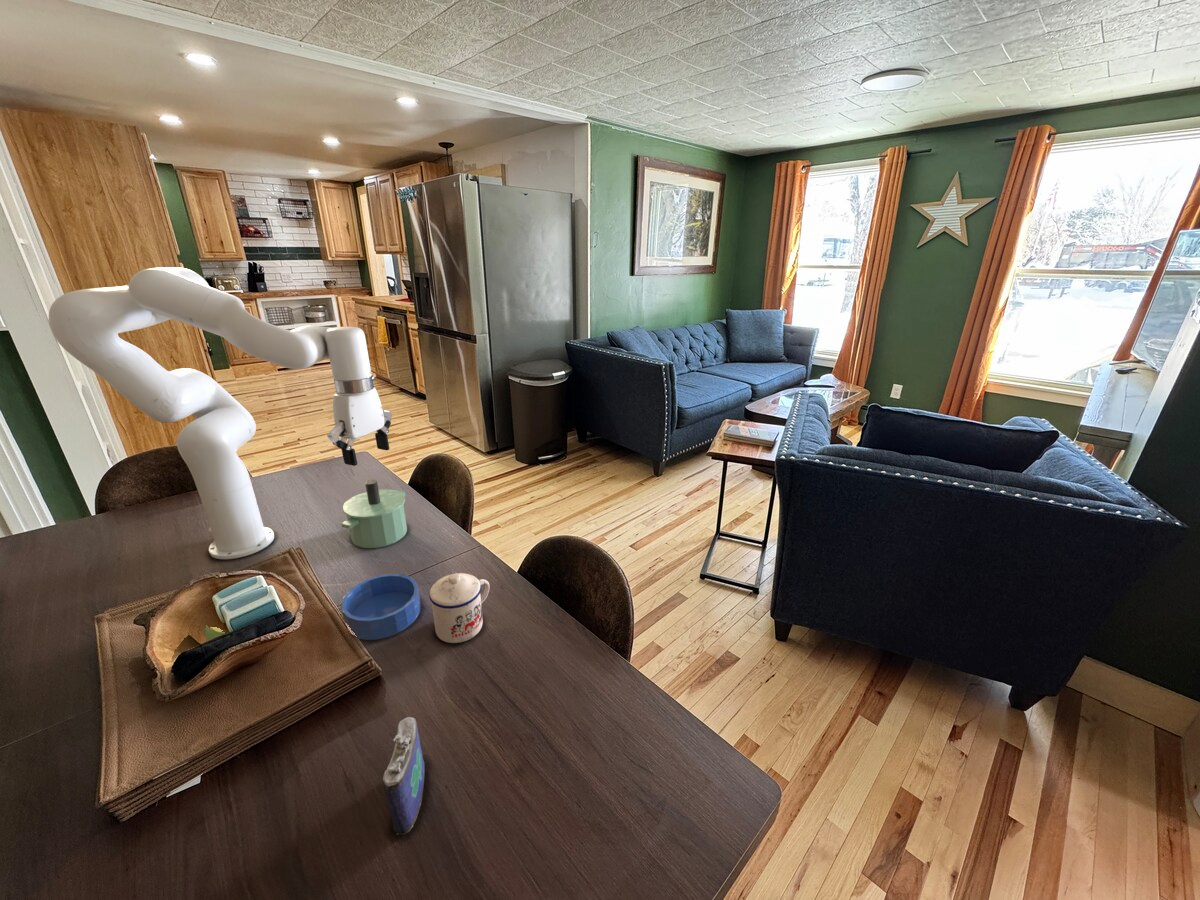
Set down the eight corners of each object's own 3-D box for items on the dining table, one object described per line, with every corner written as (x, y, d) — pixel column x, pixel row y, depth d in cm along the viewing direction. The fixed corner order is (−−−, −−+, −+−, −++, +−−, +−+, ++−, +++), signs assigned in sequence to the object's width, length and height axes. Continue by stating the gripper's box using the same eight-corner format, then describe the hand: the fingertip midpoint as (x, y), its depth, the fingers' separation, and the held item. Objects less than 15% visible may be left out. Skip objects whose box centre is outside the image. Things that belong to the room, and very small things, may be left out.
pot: (330, 547, 112) (323, 516, 109) (386, 512, 128) (382, 484, 125) (372, 559, 108) (366, 527, 105) (424, 521, 124) (421, 493, 121)
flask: (407, 762, 65) (397, 706, 61) (429, 759, 66) (421, 704, 62) (390, 837, 57) (376, 779, 53) (415, 834, 57) (404, 775, 53)
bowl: (329, 628, 88) (324, 608, 87) (382, 585, 100) (379, 567, 98) (385, 648, 84) (382, 628, 82) (434, 601, 96) (432, 583, 94)
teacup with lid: (454, 653, 83) (448, 600, 79) (424, 629, 88) (416, 578, 84) (505, 615, 92) (502, 566, 88) (475, 596, 97) (470, 548, 93)
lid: (329, 513, 111) (324, 488, 109) (374, 489, 123) (370, 466, 121) (375, 525, 107) (371, 500, 104) (417, 499, 119) (414, 475, 116)
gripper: (371, 375, 112) (383, 441, 119) (306, 393, 97) (324, 468, 104) (396, 378, 110) (407, 446, 116) (334, 397, 95) (350, 474, 101)
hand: (368, 456), depth 110 cm, fingers open, 9 cm apart
